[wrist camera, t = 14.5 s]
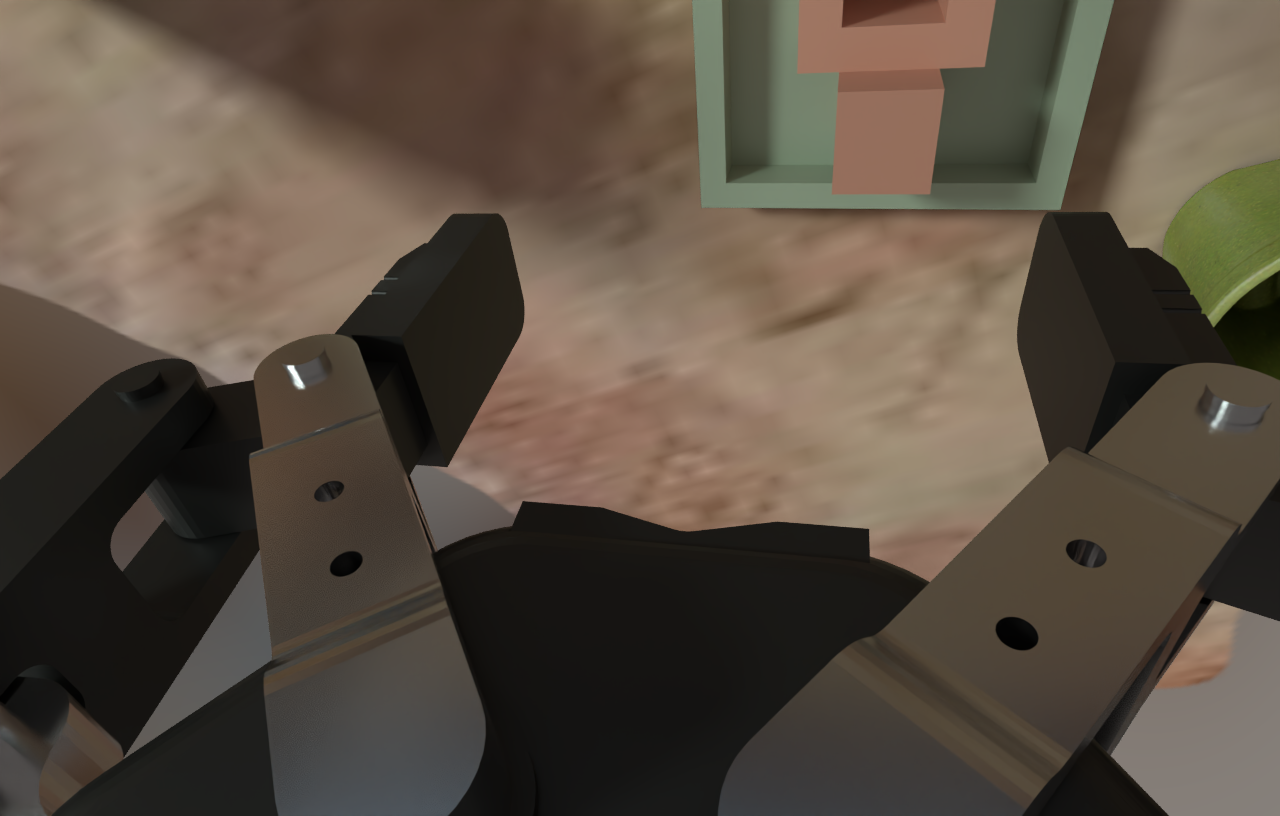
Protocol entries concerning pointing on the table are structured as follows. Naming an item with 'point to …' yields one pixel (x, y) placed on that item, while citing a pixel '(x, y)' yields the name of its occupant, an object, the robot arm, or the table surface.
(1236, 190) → the plant pot
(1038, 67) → the tray
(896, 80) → the collar
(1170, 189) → the table surface
